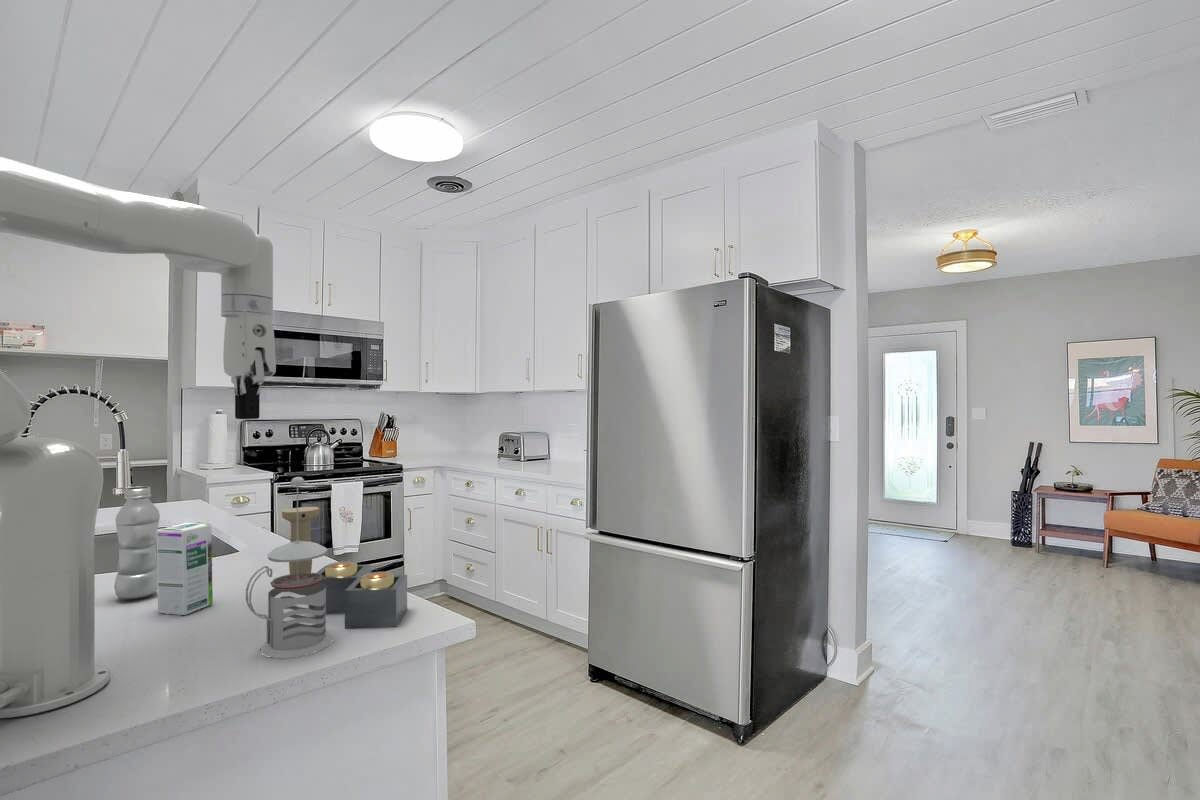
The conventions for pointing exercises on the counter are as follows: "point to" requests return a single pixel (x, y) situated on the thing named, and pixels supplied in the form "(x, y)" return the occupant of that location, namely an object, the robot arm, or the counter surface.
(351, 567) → the cream candle
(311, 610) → the french press
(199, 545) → the syrup box
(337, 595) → the socket far
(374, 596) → the socket near
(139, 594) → the plastic bottle
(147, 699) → the counter surface
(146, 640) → the counter surface
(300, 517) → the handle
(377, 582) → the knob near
